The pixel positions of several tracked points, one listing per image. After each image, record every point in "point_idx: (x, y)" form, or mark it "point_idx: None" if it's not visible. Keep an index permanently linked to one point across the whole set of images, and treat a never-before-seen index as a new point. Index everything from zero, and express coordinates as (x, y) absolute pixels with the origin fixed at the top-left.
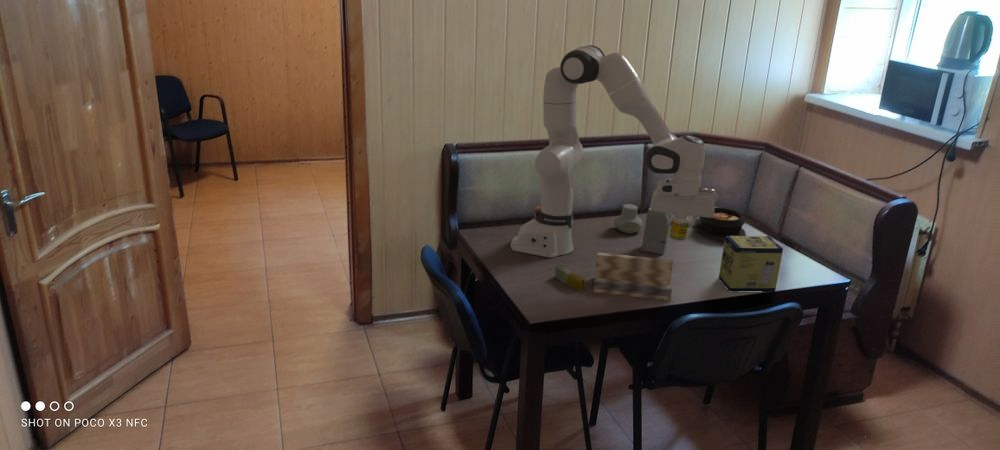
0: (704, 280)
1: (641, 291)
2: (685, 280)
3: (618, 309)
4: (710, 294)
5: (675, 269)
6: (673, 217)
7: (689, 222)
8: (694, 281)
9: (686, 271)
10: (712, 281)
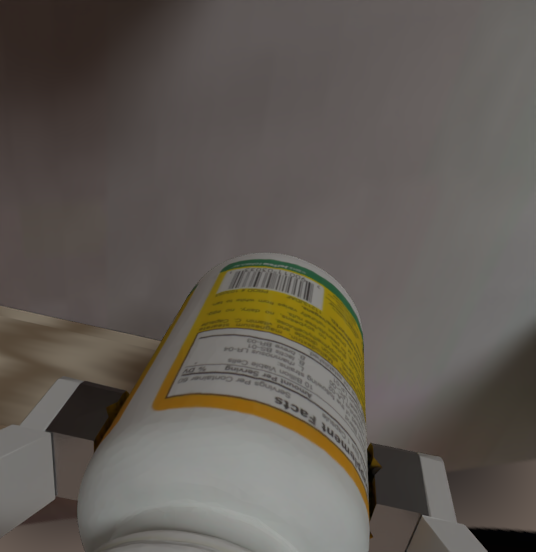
0: (483, 299)
1: None
2: (360, 302)
3: (33, 522)
4: (443, 445)
5: (341, 145)
6: (83, 540)
7: (382, 542)
8: (412, 313)
9: (411, 173)
10: (532, 311)
